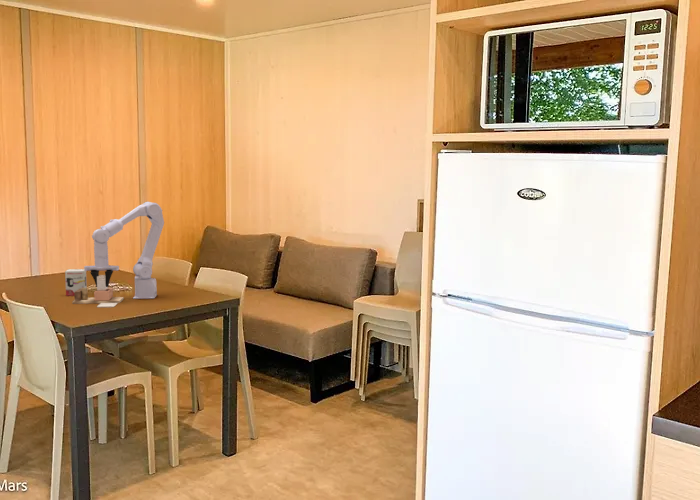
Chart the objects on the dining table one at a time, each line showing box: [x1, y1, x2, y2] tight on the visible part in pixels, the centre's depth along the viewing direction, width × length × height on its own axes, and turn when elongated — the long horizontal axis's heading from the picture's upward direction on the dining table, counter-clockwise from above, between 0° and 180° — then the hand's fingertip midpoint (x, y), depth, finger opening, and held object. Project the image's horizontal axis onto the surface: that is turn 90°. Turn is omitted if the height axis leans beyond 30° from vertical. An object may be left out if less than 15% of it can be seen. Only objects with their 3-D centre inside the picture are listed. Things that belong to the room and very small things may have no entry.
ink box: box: [64, 268, 88, 297], centre depth 307 cm, size 9×5×12 cm, turn 101°
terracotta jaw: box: [93, 287, 114, 301], centre depth 294 cm, size 6×8×4 cm
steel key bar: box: [96, 274, 109, 291], centre depth 293 cm, size 4×4×9 cm
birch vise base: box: [71, 287, 125, 305], centre depth 294 cm, size 20×8×6 cm, turn 96°
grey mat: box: [96, 303, 119, 308], centre depth 286 cm, size 7×7×1 cm
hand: (102, 286), depth 293 cm, fingers closed on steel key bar, 4 cm apart
